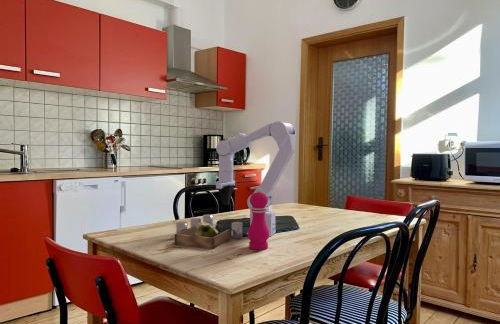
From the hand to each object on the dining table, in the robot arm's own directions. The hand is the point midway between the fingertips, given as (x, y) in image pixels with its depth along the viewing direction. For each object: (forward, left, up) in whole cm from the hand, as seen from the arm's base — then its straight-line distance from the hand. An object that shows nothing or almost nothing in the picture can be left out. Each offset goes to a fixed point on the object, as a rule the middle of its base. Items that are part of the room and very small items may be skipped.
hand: (225, 204), depth 154 cm
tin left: (-10, +12, -10) cm, 18 cm away
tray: (0, +21, -10) cm, 23 cm away
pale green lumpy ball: (-2, +22, -10) cm, 24 cm away
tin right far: (+10, +19, -10) cm, 23 cm away
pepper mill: (-21, +21, -10) cm, 31 cm away
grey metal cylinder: (+7, +2, -10) cm, 12 cm away
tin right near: (+8, +11, -10) cm, 17 cm away
